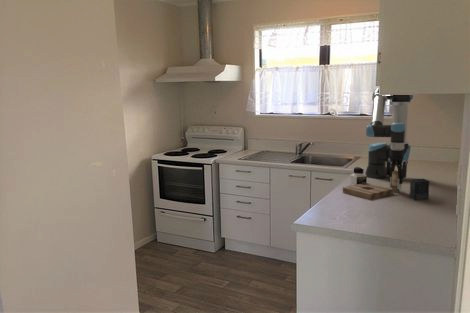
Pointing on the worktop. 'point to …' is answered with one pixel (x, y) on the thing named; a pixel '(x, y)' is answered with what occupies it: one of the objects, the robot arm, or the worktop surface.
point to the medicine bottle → (358, 176)
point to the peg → (395, 180)
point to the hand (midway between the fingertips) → (395, 188)
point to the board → (368, 190)
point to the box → (419, 189)
